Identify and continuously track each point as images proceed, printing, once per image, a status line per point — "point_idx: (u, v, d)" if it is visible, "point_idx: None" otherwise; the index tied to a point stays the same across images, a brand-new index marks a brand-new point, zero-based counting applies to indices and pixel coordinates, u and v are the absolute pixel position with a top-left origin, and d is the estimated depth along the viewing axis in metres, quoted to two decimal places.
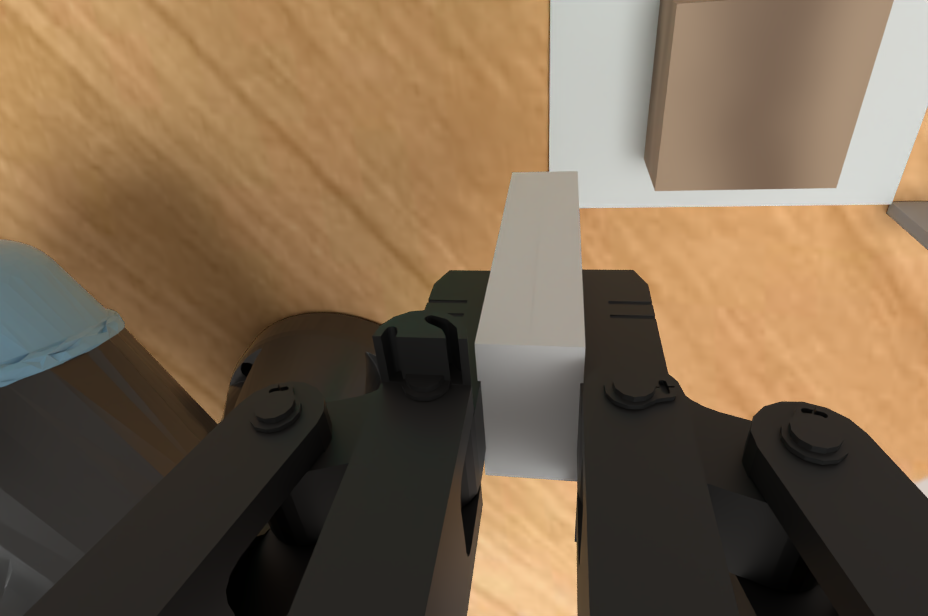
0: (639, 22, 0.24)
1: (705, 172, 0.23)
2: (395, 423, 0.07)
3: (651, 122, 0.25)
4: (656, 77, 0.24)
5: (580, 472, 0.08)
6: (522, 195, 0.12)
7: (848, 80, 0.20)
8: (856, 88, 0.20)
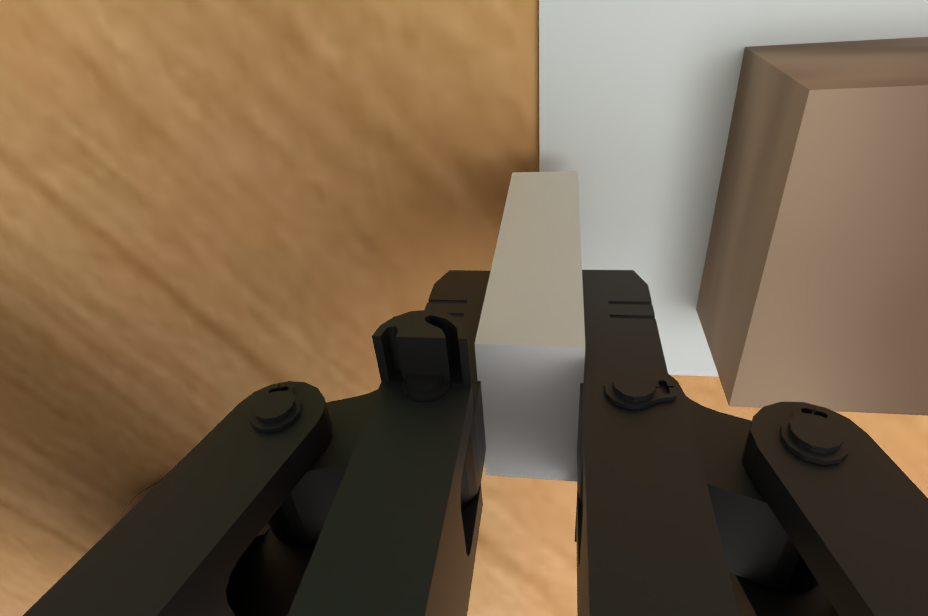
0: (701, 98, 0.13)
1: (827, 384, 0.12)
2: (395, 423, 0.07)
3: (717, 267, 0.14)
4: (732, 198, 0.13)
5: (580, 472, 0.08)
6: (522, 195, 0.12)
7: None
8: None
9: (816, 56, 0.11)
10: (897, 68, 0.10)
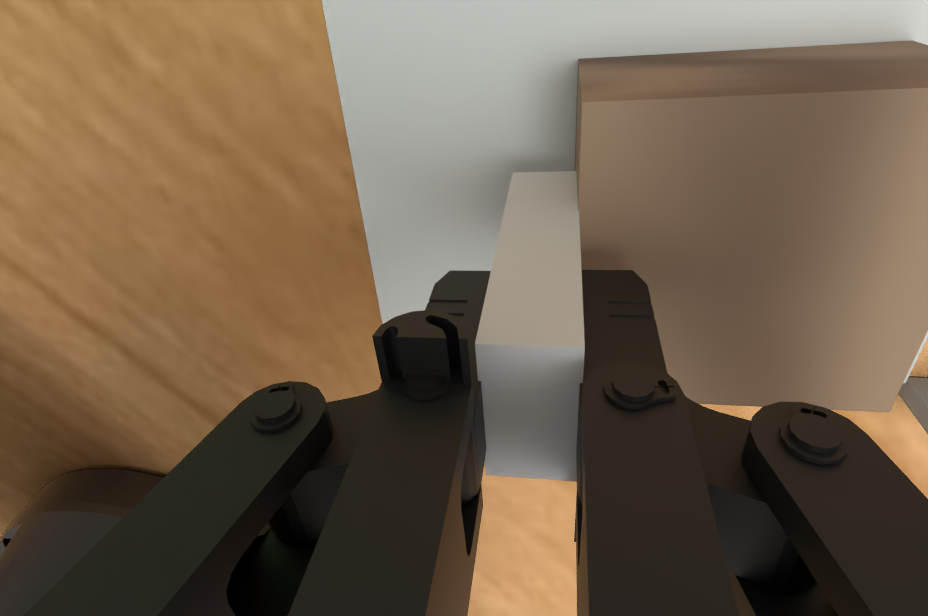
0: (485, 109, 0.14)
1: None
2: (395, 423, 0.07)
3: None
4: None
5: (580, 472, 0.08)
6: (522, 196, 0.12)
7: (924, 247, 0.10)
8: None
9: (626, 69, 0.12)
10: (678, 81, 0.10)
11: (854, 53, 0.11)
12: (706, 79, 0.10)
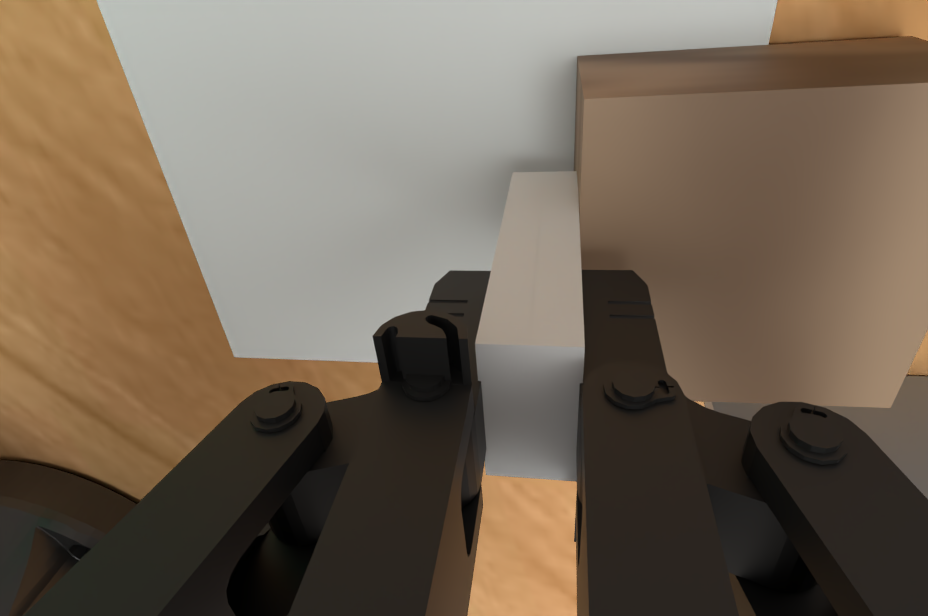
0: (268, 116, 0.15)
1: None
2: (395, 423, 0.07)
3: None
4: None
5: (579, 472, 0.08)
6: (522, 195, 0.12)
7: (926, 243, 0.10)
8: None
9: (626, 65, 0.12)
10: (679, 77, 0.10)
11: (854, 49, 0.11)
12: (707, 75, 0.10)
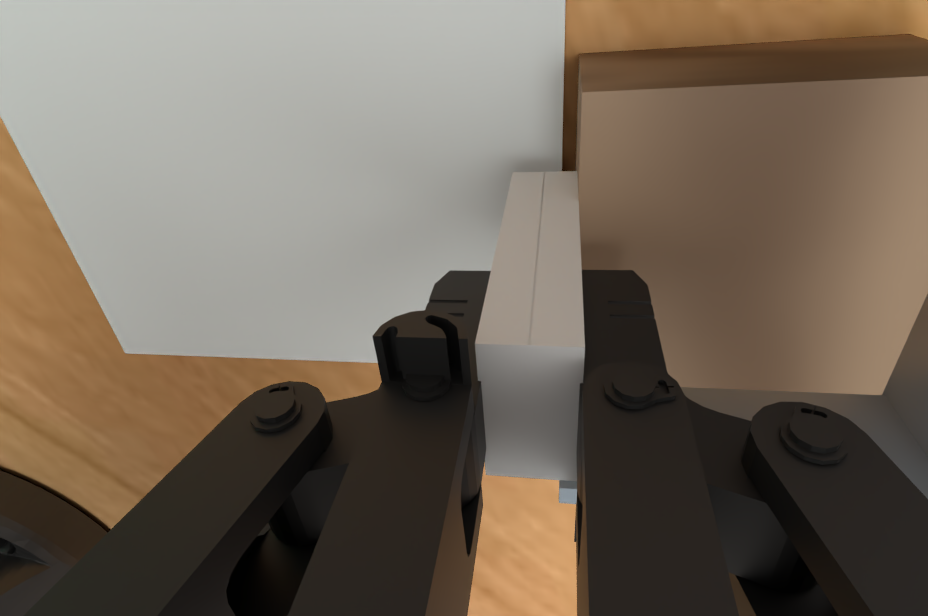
0: (119, 121, 0.16)
1: None
2: (395, 423, 0.07)
3: None
4: None
5: (580, 472, 0.08)
6: (522, 195, 0.12)
7: (913, 232, 0.11)
8: None
9: (625, 61, 0.12)
10: (675, 72, 0.11)
11: (847, 45, 0.12)
12: (702, 70, 0.11)
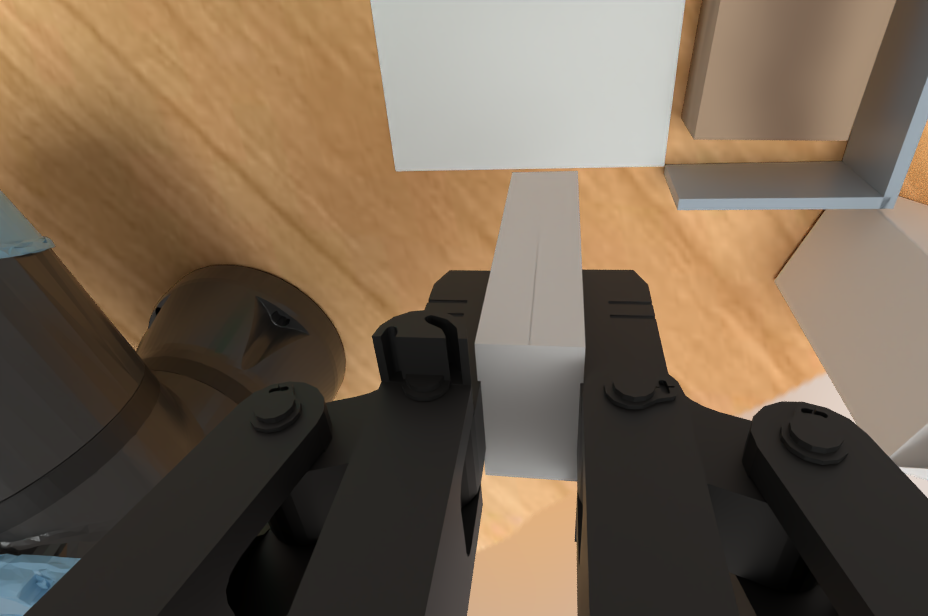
0: (441, 15, 0.29)
1: (737, 124, 0.27)
2: (395, 423, 0.07)
3: (691, 82, 0.29)
4: (698, 42, 0.28)
5: (580, 472, 0.08)
6: (522, 195, 0.12)
7: (862, 46, 0.24)
8: (868, 53, 0.25)
9: None
10: None
11: None
12: None
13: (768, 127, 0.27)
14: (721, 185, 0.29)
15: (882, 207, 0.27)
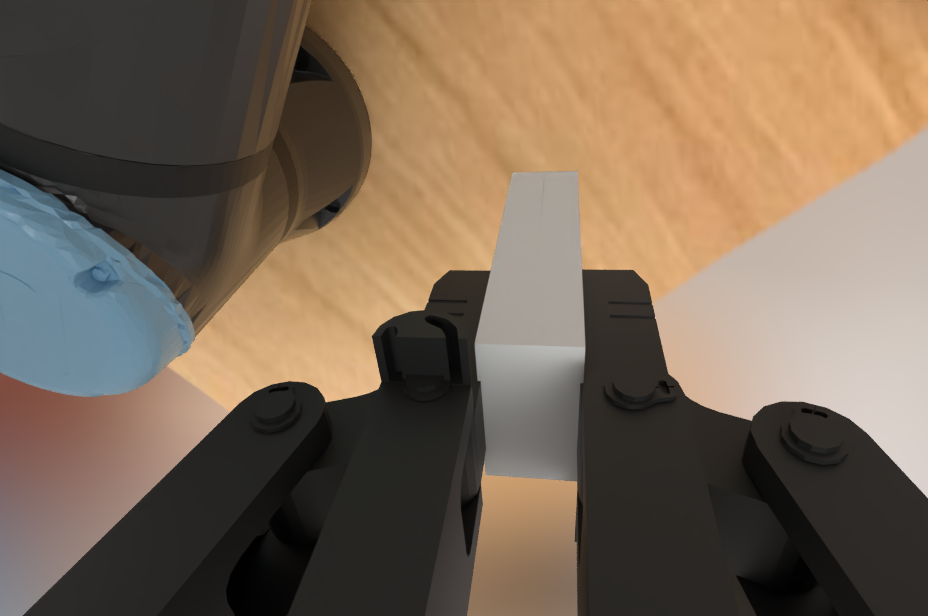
0: None
1: None
2: (395, 423, 0.07)
3: None
4: None
5: (580, 472, 0.08)
6: (522, 195, 0.12)
7: None
8: None
9: None
10: None
11: None
12: None
13: None
14: None
15: None
